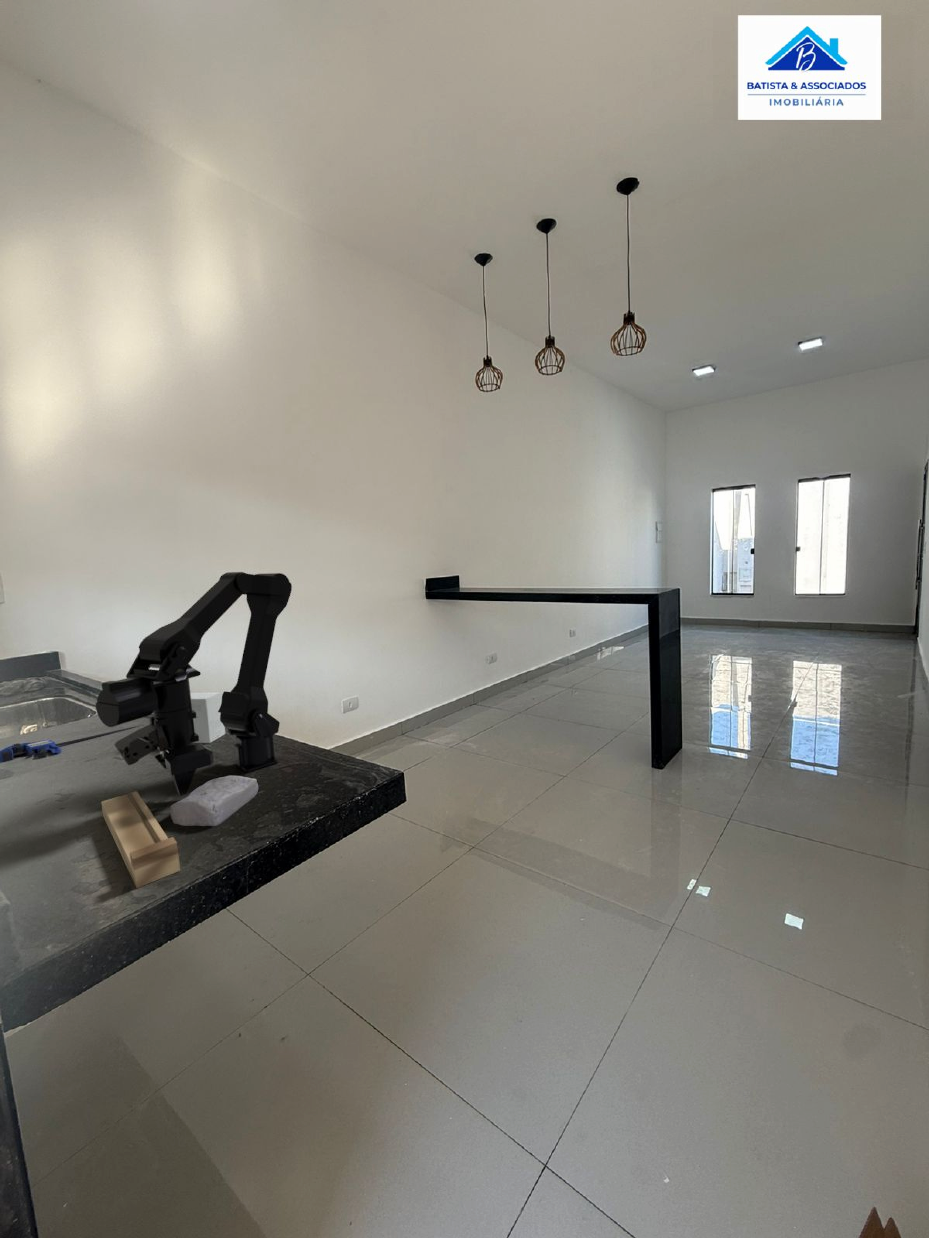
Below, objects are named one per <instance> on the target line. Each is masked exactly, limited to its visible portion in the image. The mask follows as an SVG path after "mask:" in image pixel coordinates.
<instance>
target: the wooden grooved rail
mask: <svg viewBox="0 0 929 1238" xmlns="http://www.w3.org/2000/svg"><path fill="white" fill-rule="evenodd" d="M100 804H101V809H102V816H103V818H104V821H105V823H106V825H107V827H108V831H110V834H111V837H113V840H114V843H115V844H116V846H117V849H118V851H119V853H120V855H121V858H122V859H123V861H124V864H125V866H126V868H127V871H128V872H129V875H130V877H131V879H132V881H133V883H134V886H135V887H136V889H139V888H141V887H143V886H147V885H148V884H151V883H154V882H155V881H158V880H160V879H163V878H165V877H168V876H170V875H173V874H175V873H177V872H180V871H181V865H180V864H181V863H180V857H179V849H178V842H177V841H176V839H175V838H174V836H171V837H168V836H167V833H165V831H164V830H163V828H162V827H161V825H160V824H159V822H158V820H157V819H156V818H155V816H154V815H153V813H152V811H151V810H150V808H149V807H148V806H147V804H146V803H145V801H144V800H143V798H142V797H141V795H140V794H139V792H138V791H132V792H129V793H127V794H123V795H119V796H116V797H113V798H108V799H106V800H103V801H101V803H100Z"/></svg>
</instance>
